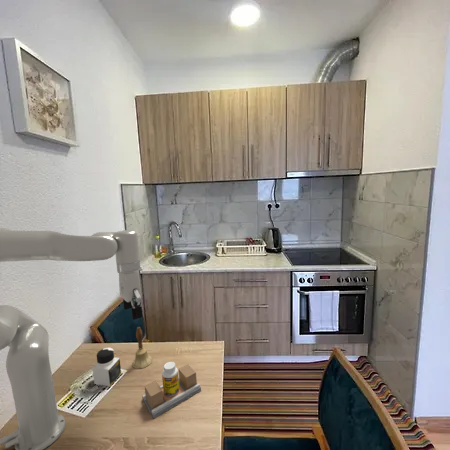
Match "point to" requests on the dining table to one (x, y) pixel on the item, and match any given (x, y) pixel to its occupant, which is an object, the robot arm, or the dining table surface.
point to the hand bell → (141, 353)
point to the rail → (162, 403)
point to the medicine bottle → (106, 367)
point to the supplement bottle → (170, 379)
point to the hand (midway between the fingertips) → (133, 313)
